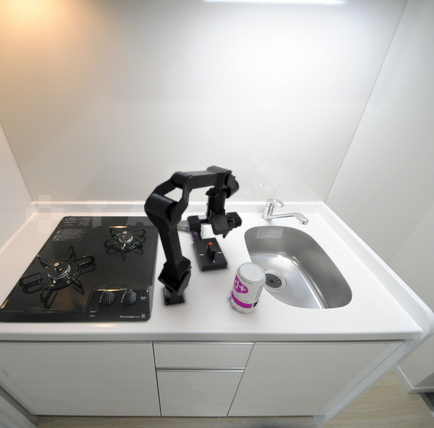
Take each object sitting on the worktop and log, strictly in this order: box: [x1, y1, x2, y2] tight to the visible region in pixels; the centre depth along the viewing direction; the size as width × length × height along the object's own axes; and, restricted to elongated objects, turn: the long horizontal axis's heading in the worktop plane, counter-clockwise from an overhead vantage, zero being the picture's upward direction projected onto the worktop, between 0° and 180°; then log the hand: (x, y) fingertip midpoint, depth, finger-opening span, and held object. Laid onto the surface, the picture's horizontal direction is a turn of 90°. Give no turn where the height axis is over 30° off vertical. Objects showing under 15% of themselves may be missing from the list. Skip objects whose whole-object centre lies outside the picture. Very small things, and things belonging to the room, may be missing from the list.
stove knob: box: [207, 243, 216, 258], centre depth 81 cm, size 5×2×4 cm, turn 10°
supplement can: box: [229, 261, 267, 314], centre depth 64 cm, size 8×8×15 cm
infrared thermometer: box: [177, 219, 204, 240], centre depth 97 cm, size 5×12×15 cm
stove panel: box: [192, 237, 229, 272], centre depth 85 cm, size 15×10×3 cm, turn 9°
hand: (211, 239), depth 78 cm, fingers open, 9 cm apart
